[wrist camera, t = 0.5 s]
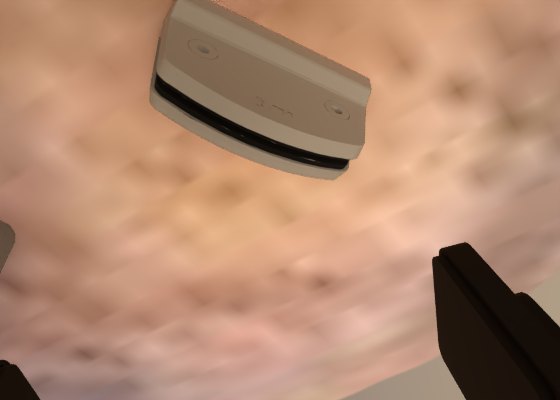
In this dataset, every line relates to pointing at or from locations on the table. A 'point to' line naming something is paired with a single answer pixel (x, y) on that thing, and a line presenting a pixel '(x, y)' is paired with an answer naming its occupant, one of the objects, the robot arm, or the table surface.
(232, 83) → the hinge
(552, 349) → the robot arm
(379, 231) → the table surface
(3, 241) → the grey upright block
